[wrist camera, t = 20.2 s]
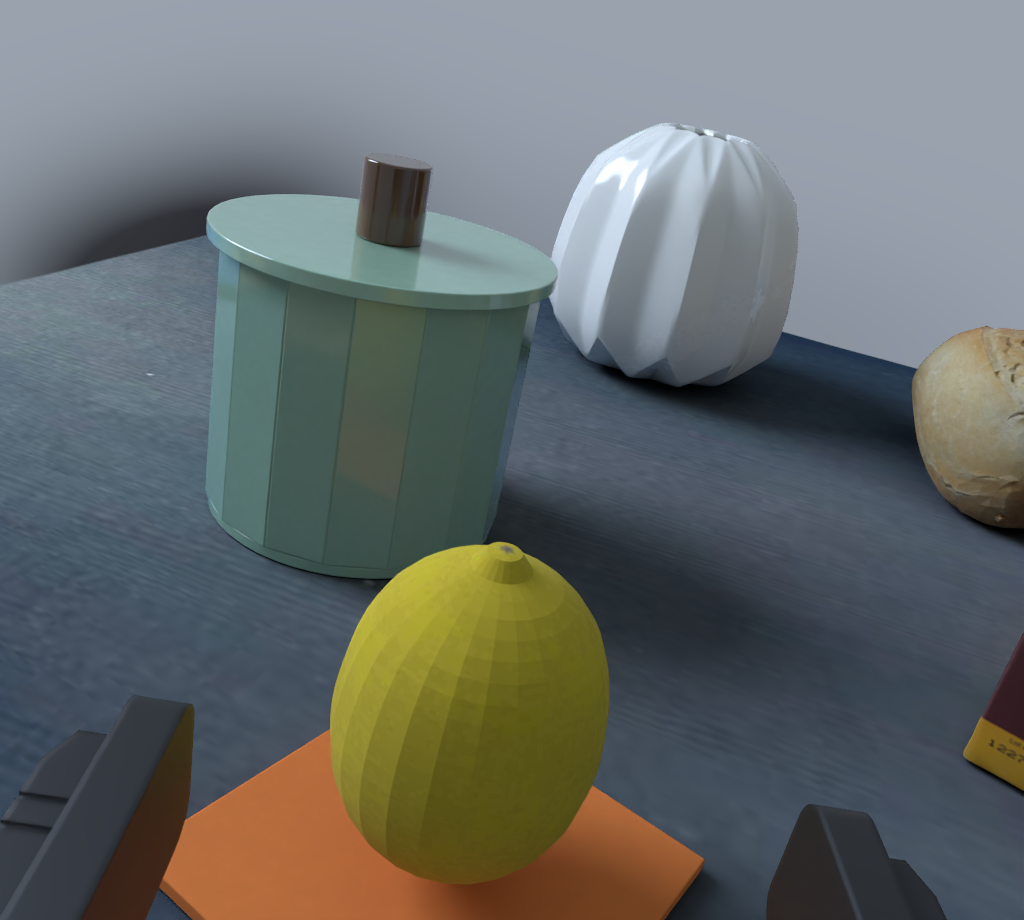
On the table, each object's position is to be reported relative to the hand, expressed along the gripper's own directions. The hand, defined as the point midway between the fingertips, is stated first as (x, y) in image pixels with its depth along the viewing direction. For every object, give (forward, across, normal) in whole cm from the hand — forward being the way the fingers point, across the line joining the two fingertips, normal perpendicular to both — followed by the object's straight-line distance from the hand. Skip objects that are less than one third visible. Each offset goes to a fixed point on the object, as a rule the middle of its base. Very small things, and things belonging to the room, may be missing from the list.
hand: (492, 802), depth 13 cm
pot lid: (+22, +5, -1) cm, 23 cm away
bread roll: (+36, -26, +8) cm, 45 cm away
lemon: (+6, 0, +8) cm, 10 cm away
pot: (+22, +5, +8) cm, 24 cm away
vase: (+45, -9, +8) cm, 47 cm away
